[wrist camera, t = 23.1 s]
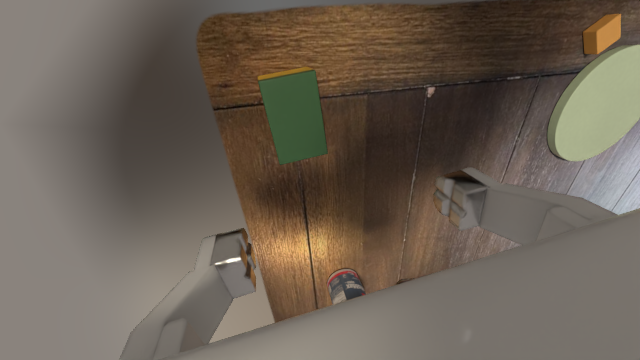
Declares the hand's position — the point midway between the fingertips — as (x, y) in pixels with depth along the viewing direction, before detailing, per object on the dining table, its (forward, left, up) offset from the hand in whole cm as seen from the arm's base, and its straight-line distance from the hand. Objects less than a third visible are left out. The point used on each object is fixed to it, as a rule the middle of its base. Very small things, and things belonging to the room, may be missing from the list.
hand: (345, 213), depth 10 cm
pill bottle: (+29, +2, -19) cm, 35 cm away
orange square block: (-1, +38, -19) cm, 43 cm away
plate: (+9, +43, -19) cm, 48 cm away
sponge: (0, 0, -19) cm, 19 cm away
